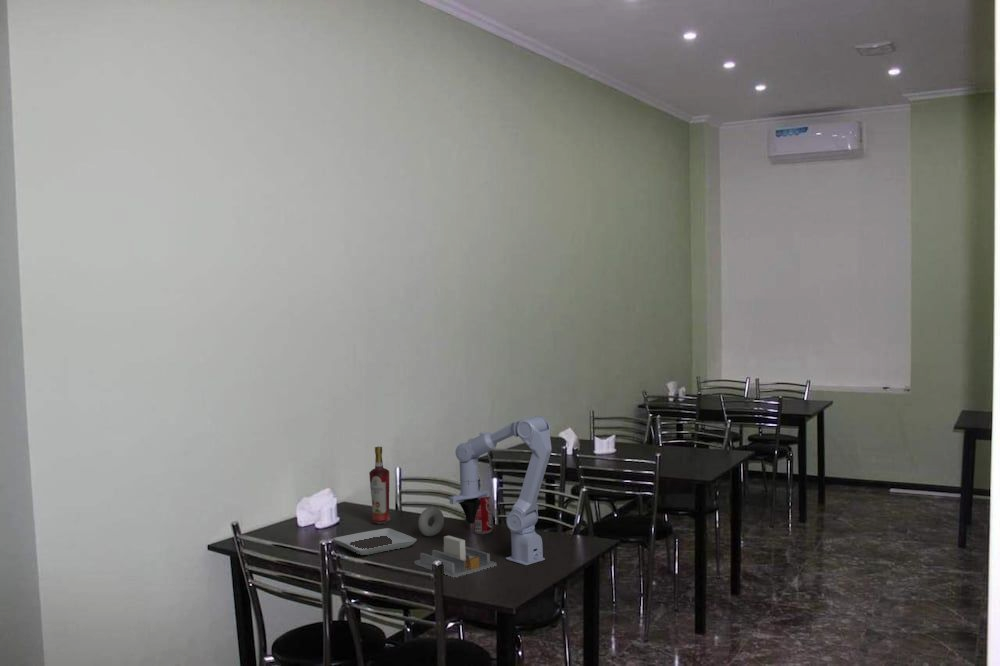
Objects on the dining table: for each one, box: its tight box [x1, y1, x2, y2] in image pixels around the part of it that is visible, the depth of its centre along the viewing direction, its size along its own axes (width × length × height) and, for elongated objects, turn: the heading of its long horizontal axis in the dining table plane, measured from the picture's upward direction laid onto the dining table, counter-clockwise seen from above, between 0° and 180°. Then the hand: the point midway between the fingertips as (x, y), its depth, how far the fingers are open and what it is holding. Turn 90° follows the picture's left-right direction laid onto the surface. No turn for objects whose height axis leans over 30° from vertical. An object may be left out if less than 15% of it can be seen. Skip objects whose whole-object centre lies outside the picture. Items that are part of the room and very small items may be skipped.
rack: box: [413, 545, 497, 579], centre depth 257 cm, size 20×16×4 cm
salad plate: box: [332, 527, 417, 556], centre depth 281 cm, size 21×21×3 cm
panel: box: [443, 535, 466, 560], centre depth 257 cm, size 8×2×7 cm, turn 40°
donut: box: [417, 506, 445, 537], centre depth 292 cm, size 10×4×10 cm, turn 129°
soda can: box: [471, 493, 493, 535], centre depth 295 cm, size 7×7×13 cm
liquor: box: [369, 446, 391, 522], centre depth 313 cm, size 7×7×28 cm
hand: (470, 522), depth 270 cm, fingers closed
